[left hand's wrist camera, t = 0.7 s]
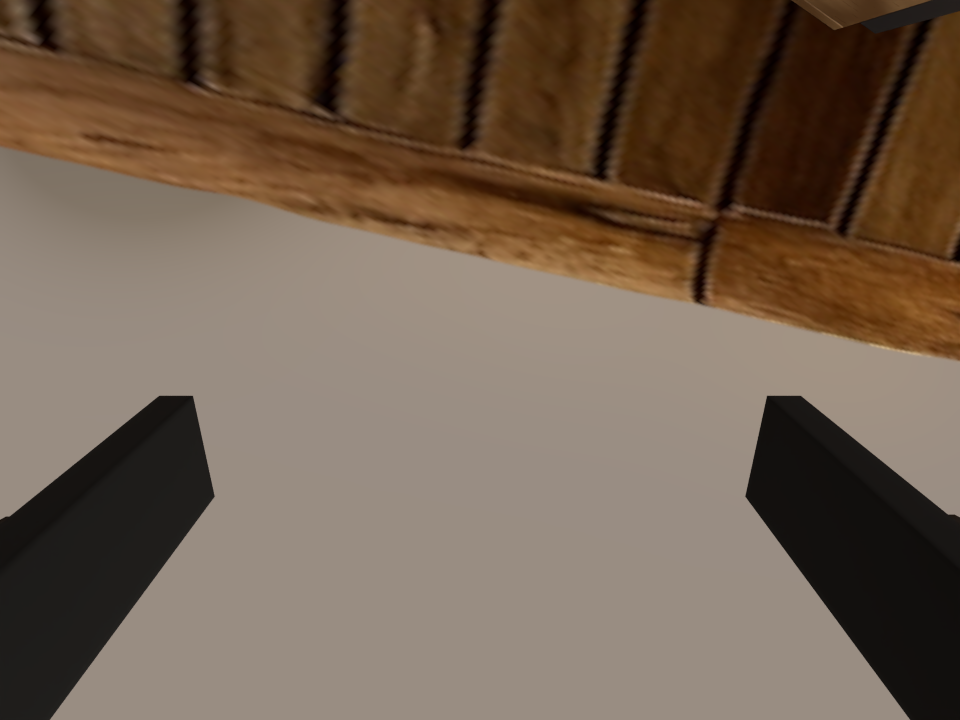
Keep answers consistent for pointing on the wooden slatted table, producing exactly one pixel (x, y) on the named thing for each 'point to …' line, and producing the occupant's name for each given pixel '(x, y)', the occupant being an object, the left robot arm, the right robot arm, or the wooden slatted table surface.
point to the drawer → (912, 15)
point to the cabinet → (852, 10)
